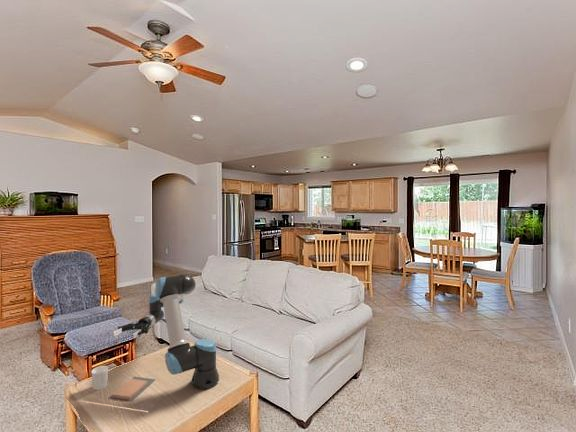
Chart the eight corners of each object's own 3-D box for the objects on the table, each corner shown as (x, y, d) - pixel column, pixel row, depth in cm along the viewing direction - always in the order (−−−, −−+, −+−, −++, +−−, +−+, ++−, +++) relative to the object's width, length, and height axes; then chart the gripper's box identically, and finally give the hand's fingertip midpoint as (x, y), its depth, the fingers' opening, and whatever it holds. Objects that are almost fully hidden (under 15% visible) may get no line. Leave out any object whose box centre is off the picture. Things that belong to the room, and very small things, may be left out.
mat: (156, 380, 173) (156, 379, 173) (131, 402, 154) (131, 401, 154) (134, 377, 176) (134, 376, 176) (107, 399, 156) (107, 398, 156)
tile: (147, 381, 169) (129, 396, 155) (147, 384, 169) (129, 400, 155) (131, 378, 171) (112, 394, 157) (131, 381, 171) (112, 397, 157)
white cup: (103, 391, 163) (103, 373, 162) (88, 391, 162) (88, 373, 162) (111, 382, 170) (111, 365, 170) (96, 383, 170) (96, 365, 170)
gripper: (163, 329, 198) (142, 343, 177) (129, 326, 203) (105, 340, 182) (163, 317, 198) (142, 330, 177) (129, 315, 203) (104, 327, 182)
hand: (123, 335), depth 179 cm, fingers open, 13 cm apart
